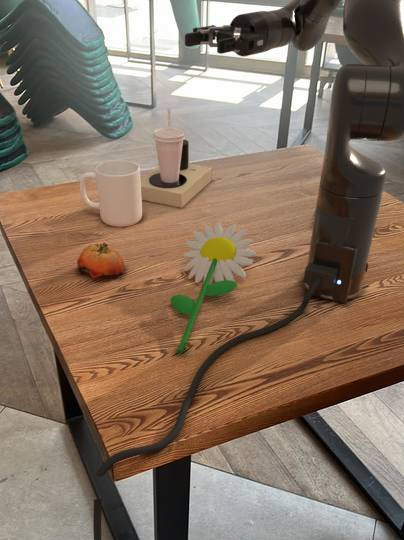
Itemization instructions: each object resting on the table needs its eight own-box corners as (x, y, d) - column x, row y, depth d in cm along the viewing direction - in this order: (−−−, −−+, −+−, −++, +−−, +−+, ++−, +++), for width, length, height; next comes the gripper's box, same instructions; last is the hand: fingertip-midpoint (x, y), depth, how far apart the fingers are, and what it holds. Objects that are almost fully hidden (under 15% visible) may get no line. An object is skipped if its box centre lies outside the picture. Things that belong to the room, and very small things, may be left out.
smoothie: (186, 174, 123) (186, 105, 114) (183, 186, 118) (182, 115, 109) (157, 172, 123) (154, 104, 114) (152, 184, 118) (149, 113, 110)
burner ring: (176, 190, 117) (176, 189, 117) (142, 184, 119) (142, 182, 119) (192, 177, 123) (192, 175, 122) (159, 171, 125) (159, 169, 125)
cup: (137, 228, 110) (134, 177, 103) (77, 224, 111) (70, 173, 104) (146, 210, 116) (143, 161, 110) (88, 206, 117) (82, 157, 111)
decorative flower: (224, 372, 81) (262, 248, 101) (223, 347, 77) (262, 225, 97) (139, 360, 83) (192, 242, 103) (134, 336, 80) (190, 219, 100)
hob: (181, 207, 118) (181, 193, 116) (134, 198, 121) (133, 183, 119) (213, 178, 130) (213, 165, 128) (169, 171, 133) (169, 157, 131)
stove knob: (191, 165, 128) (191, 138, 124) (184, 171, 125) (184, 144, 121) (174, 162, 129) (174, 136, 125) (167, 168, 126) (167, 142, 122)
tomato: (127, 276, 93) (94, 243, 90) (97, 302, 95) (65, 271, 93) (132, 259, 100) (102, 228, 97) (104, 283, 102) (74, 254, 99)
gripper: (230, 7, 120) (175, 16, 110) (285, 16, 112) (231, 26, 103) (229, 48, 124) (176, 59, 115) (281, 59, 117) (229, 71, 108)
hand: (202, 43), depth 109 cm, fingers open, 8 cm apart
